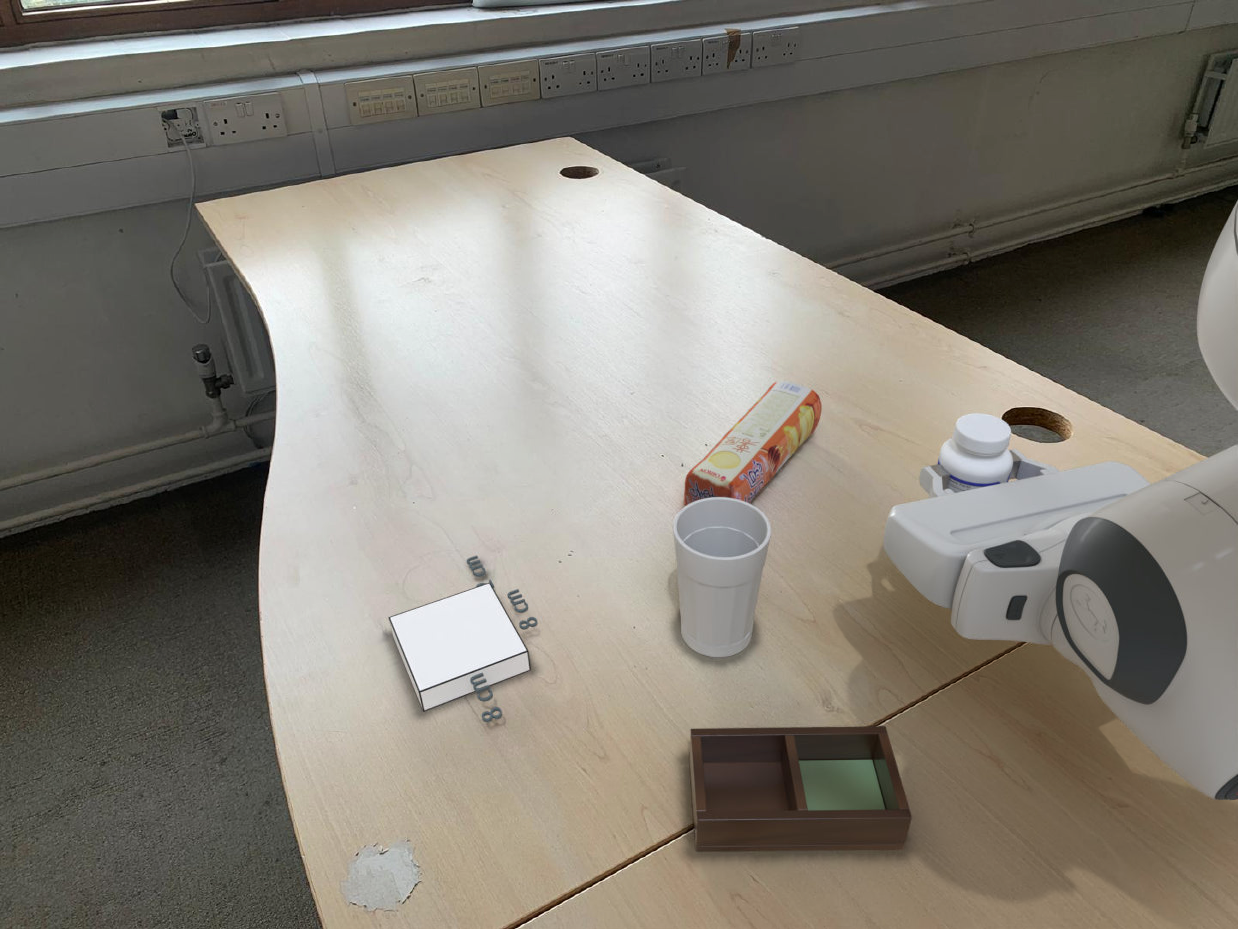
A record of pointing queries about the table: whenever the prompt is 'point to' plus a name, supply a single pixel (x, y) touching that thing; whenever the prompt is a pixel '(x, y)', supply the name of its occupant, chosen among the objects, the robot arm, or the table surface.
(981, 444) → the pill bottle
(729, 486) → the snack package
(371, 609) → the table surface
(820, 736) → the tray
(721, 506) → the cup
